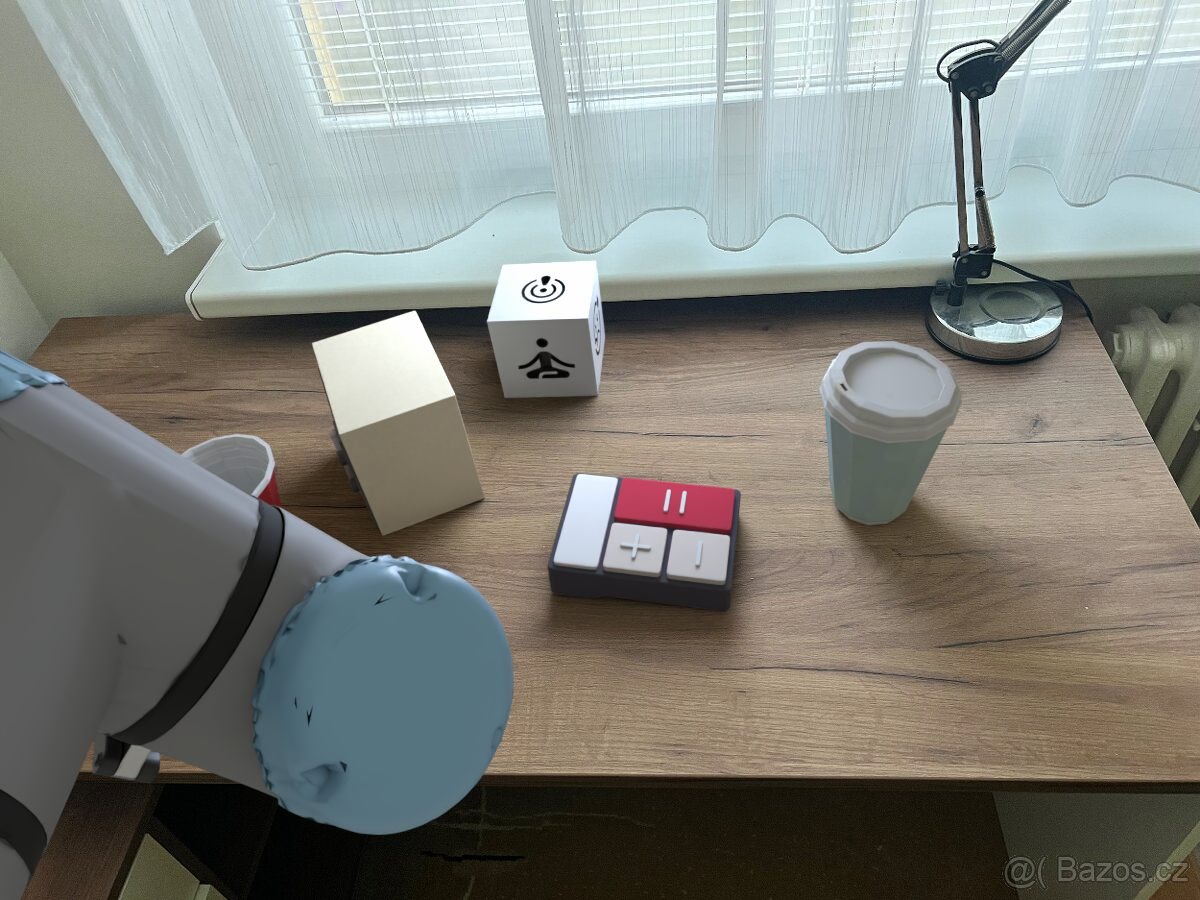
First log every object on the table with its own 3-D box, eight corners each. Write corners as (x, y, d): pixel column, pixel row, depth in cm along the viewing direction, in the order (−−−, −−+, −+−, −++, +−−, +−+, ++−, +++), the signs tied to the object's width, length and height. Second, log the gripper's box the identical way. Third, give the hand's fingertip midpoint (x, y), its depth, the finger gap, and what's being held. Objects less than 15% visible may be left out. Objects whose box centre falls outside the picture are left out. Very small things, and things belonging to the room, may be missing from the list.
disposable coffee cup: (894, 446, 82) (919, 316, 72) (959, 528, 75) (997, 397, 64) (789, 476, 81) (799, 349, 70) (845, 564, 73) (865, 435, 63)
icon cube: (518, 339, 100) (502, 264, 93) (605, 336, 99) (596, 260, 92) (504, 397, 93) (486, 321, 86) (598, 395, 92) (587, 318, 85)
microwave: (372, 540, 80) (327, 438, 71) (343, 446, 90) (300, 346, 81) (485, 498, 83) (455, 395, 74) (445, 411, 92) (415, 310, 83)
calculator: (731, 585, 68) (545, 563, 71) (728, 617, 71) (549, 594, 74) (742, 483, 76) (573, 465, 78) (738, 515, 79) (576, 497, 81)
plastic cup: (232, 519, 84) (177, 429, 76) (337, 523, 82) (293, 431, 74) (180, 613, 77) (112, 525, 68) (295, 620, 75) (240, 529, 66)
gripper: (259, 836, 35) (118, 741, 53) (366, 531, 39) (202, 538, 57) (60, 806, 31) (-21, 714, 49) (204, 467, 35) (81, 496, 53)
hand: (100, 619), depth 53 cm, fingers closed
